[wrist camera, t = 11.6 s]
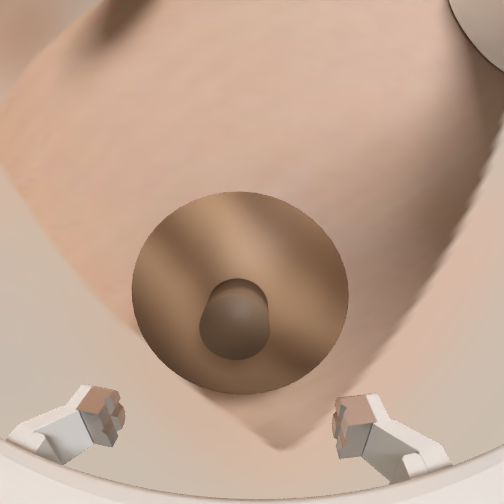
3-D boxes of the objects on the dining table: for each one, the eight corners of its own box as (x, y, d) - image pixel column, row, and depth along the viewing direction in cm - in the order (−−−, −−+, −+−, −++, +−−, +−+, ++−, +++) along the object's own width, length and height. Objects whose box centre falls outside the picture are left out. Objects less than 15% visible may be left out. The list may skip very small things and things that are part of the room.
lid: (219, 145, 19) (209, 135, 15) (385, 285, 21) (411, 307, 17) (103, 310, 22) (76, 335, 18) (254, 415, 24) (254, 451, 19)
